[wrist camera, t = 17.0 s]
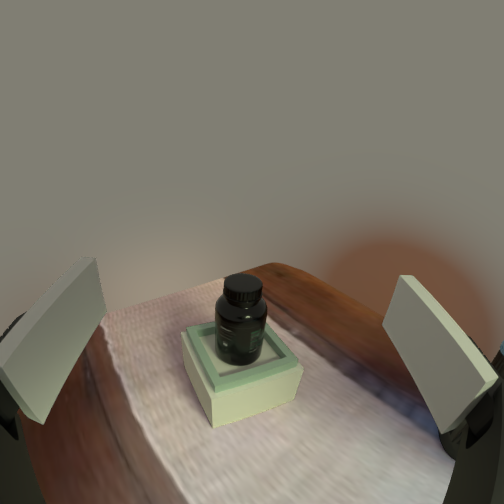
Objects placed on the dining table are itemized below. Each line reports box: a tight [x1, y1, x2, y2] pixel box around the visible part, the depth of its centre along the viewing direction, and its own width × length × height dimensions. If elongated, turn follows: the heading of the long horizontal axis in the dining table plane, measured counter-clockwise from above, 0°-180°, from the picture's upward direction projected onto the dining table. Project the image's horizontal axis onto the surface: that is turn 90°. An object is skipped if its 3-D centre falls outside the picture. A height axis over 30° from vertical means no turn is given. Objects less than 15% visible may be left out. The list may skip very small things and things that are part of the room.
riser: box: [181, 322, 304, 428], centre depth 40 cm, size 14×14×10 cm
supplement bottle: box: [215, 273, 267, 366], centre depth 37 cm, size 7×7×12 cm
